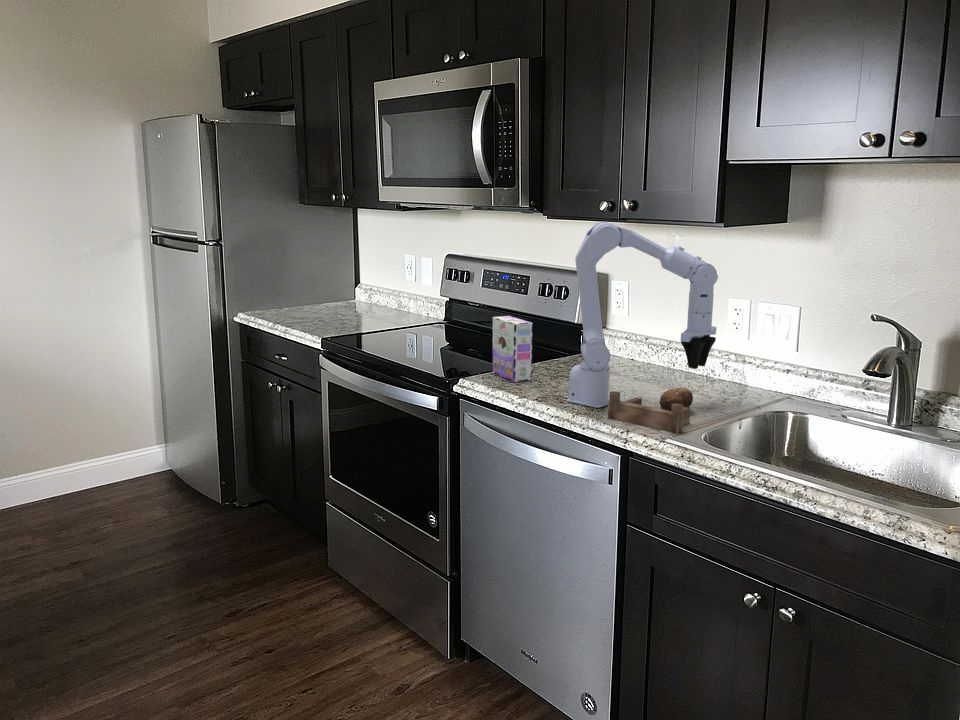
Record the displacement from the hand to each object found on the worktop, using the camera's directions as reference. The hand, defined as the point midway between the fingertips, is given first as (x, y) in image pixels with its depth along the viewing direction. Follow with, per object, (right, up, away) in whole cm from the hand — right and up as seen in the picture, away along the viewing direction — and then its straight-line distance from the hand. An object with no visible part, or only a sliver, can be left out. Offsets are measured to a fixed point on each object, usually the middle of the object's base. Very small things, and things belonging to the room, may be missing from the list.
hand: (696, 366), depth 204 cm
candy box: (-44, -3, +30) cm, 53 cm away
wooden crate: (-14, -12, -13) cm, 23 cm away
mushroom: (-6, -11, -5) cm, 14 cm away
